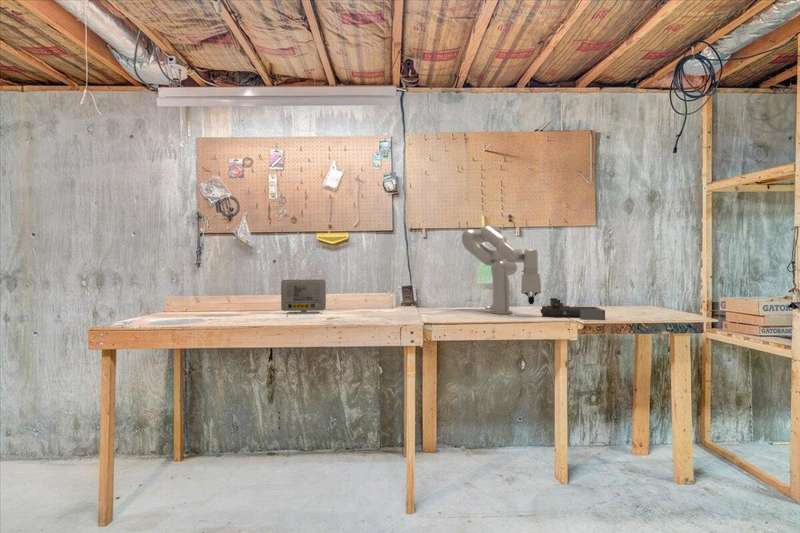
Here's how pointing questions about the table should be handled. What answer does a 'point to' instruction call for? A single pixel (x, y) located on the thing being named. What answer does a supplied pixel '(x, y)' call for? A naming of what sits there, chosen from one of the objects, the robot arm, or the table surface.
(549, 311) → the laser sight
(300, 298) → the network device
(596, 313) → the dock
